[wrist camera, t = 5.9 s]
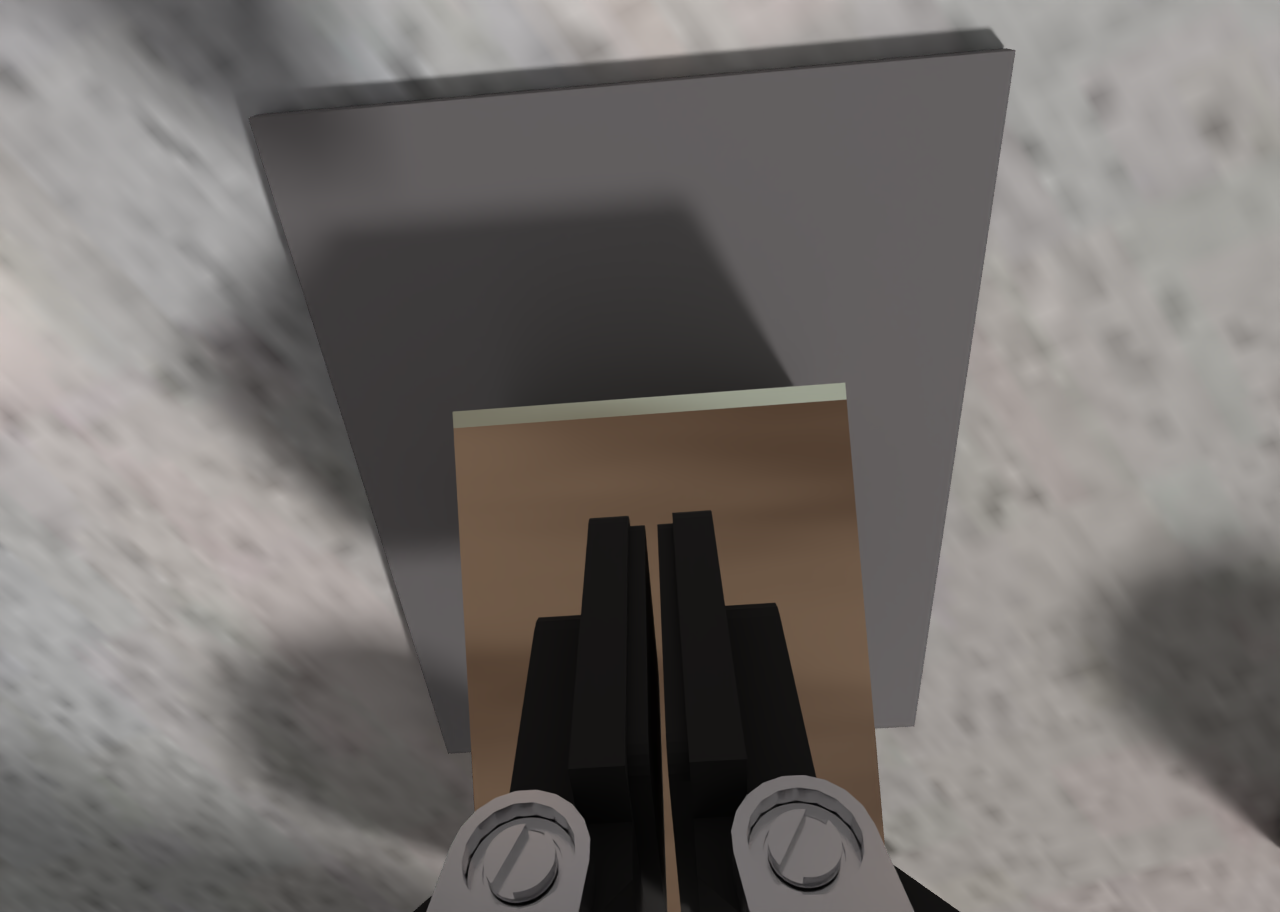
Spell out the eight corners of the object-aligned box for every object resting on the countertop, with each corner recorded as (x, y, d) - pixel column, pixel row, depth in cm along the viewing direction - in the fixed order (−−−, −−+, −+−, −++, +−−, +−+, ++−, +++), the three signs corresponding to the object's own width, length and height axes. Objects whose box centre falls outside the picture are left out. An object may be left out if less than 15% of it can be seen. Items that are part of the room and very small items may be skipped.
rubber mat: (910, 715, 24) (914, 726, 24) (450, 742, 25) (448, 753, 24) (1006, 48, 15) (1015, 50, 14) (257, 114, 15) (248, 118, 15)
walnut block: (807, 409, 18) (840, 815, 18) (500, 431, 18) (524, 833, 18) (845, 382, 14) (889, 908, 14) (452, 411, 14) (481, 929, 14)
